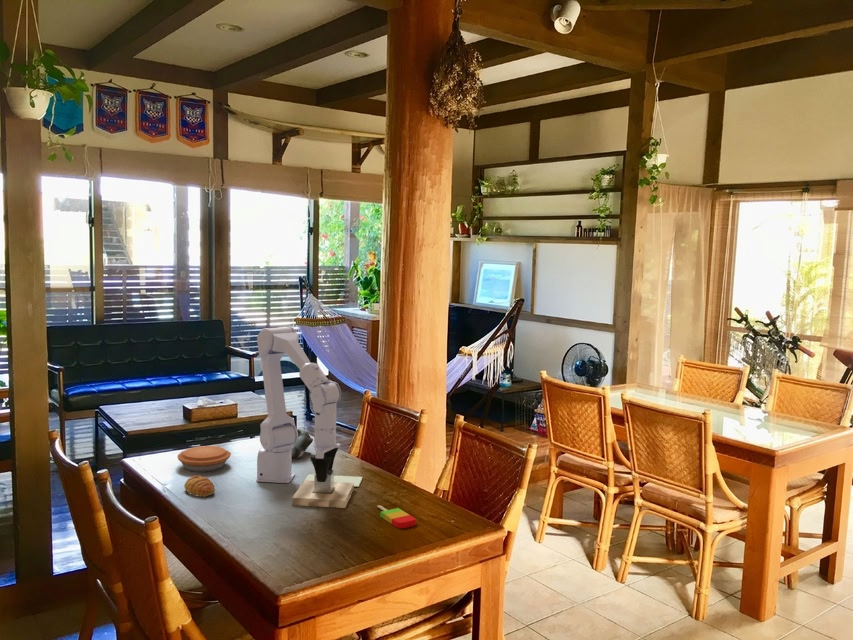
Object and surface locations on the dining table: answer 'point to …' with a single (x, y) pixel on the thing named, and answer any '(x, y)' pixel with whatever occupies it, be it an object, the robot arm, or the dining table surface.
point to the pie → (204, 458)
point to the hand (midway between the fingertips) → (324, 477)
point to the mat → (340, 479)
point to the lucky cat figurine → (300, 443)
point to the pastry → (199, 486)
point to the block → (325, 484)
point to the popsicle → (397, 517)
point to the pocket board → (323, 495)
